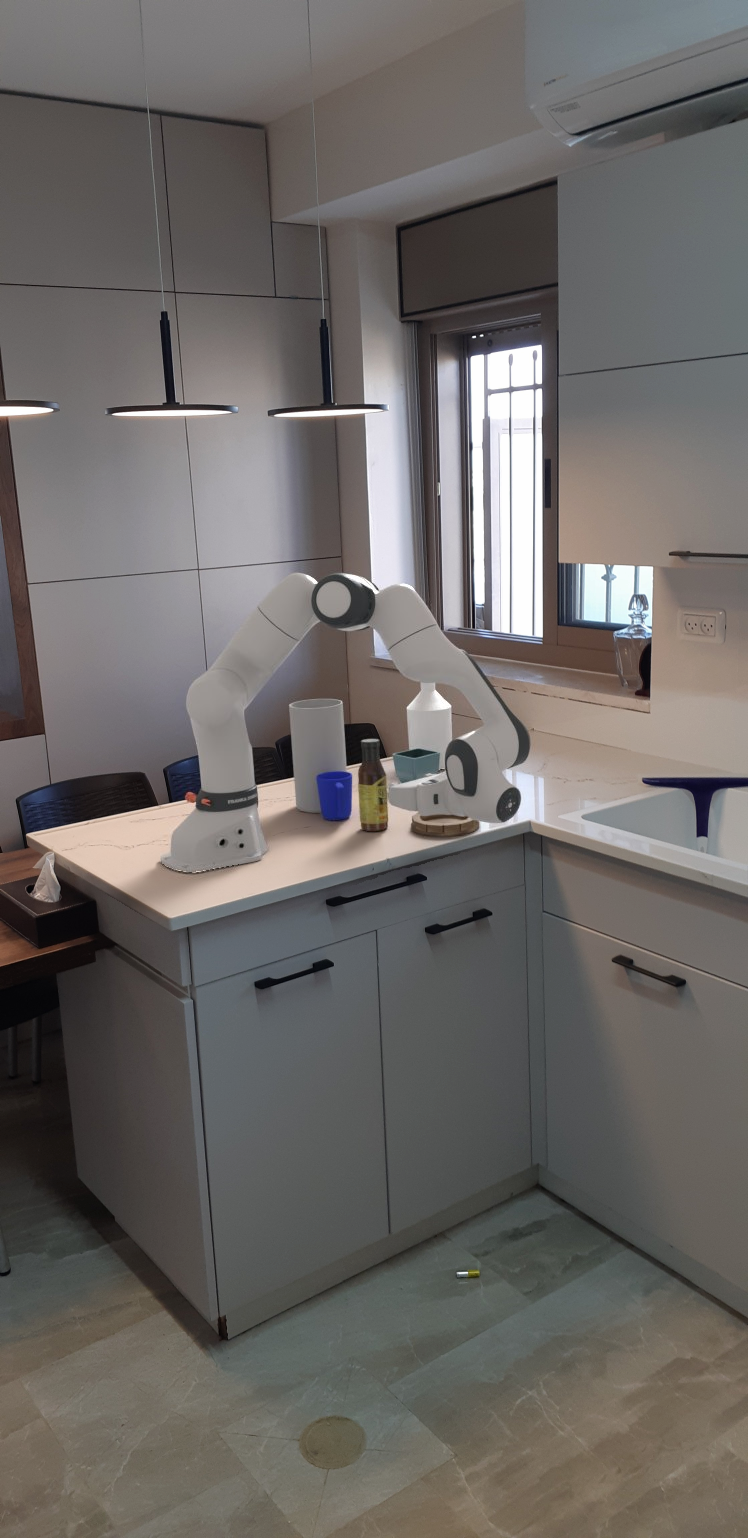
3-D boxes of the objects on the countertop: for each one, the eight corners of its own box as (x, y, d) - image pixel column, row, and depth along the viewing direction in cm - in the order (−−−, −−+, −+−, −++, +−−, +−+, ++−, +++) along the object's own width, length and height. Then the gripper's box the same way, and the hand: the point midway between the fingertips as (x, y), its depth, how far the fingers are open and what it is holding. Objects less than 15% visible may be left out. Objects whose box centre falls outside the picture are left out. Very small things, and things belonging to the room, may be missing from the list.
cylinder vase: (359, 804, 276) (353, 701, 271) (322, 816, 267) (315, 710, 262) (322, 797, 285) (315, 697, 279) (285, 809, 276) (277, 705, 270)
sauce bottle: (385, 832, 252) (381, 743, 247) (357, 832, 253) (352, 743, 249) (391, 824, 258) (386, 737, 254) (364, 824, 260) (359, 737, 255)
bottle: (405, 763, 316) (401, 672, 311) (447, 759, 318) (444, 669, 312) (414, 772, 305) (410, 678, 299) (458, 768, 307) (454, 675, 301)
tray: (442, 841, 244) (442, 830, 243) (397, 827, 255) (396, 817, 255) (493, 825, 253) (493, 815, 252) (447, 813, 264) (446, 803, 264)
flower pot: (392, 788, 290) (391, 753, 288) (419, 781, 295) (418, 747, 293) (415, 794, 283) (413, 758, 281) (442, 787, 288) (441, 752, 286)
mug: (325, 828, 258) (322, 785, 255) (316, 814, 269) (313, 773, 267) (361, 824, 259) (358, 781, 257) (351, 811, 271) (348, 769, 269)
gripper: (489, 767, 239) (444, 758, 249) (415, 787, 226) (370, 777, 237) (491, 796, 240) (446, 786, 251) (417, 818, 228) (372, 806, 238)
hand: (408, 782), depth 244 cm, fingers open, 8 cm apart
